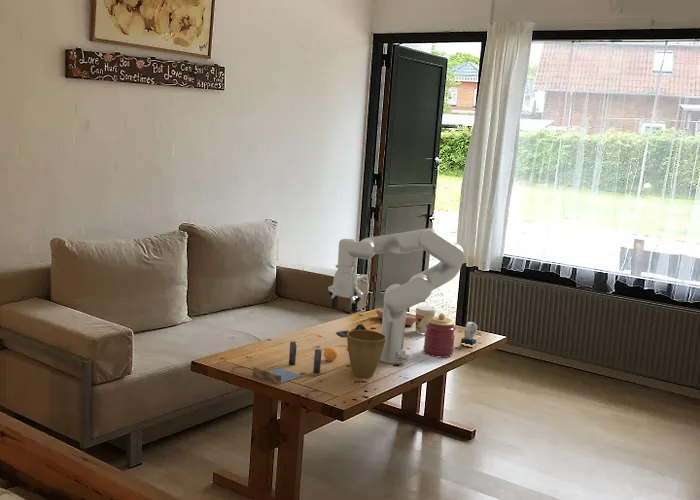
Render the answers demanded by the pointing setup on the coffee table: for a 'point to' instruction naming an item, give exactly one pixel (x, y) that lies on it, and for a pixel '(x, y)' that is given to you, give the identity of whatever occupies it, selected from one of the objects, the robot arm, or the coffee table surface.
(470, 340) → the grey upright piece
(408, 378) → the coffee table surface
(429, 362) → the coffee table surface
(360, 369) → the plant pot
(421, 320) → the coffee cup
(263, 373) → the backstop
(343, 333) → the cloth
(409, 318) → the anatomical model
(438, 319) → the canister
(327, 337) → the coffee table surface
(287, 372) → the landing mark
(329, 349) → the ball
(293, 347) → the post
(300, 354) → the coffee table surface
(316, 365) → the post
